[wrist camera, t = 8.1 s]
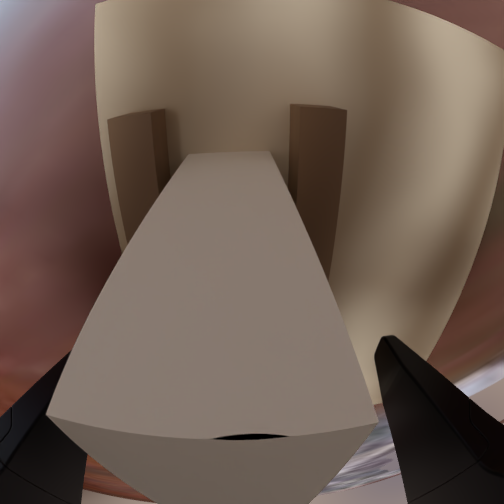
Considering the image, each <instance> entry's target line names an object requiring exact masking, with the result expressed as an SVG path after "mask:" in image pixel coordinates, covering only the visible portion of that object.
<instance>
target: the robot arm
mask: <svg viewBox="0 0 504 504" xmlns="http://www.w3.org/2000/svg"><path fill="white" fill-rule="evenodd" d="M71 351H72V350H71ZM71 351H70V352H69V353H68V354H67V355H65V356H64V357H63V358H62V359H61V360H60V361H59V362H58V363H57V364H56V365H55V366H53V367H52V368H51V369H50V370H49V371H48V372H47V373H46V374H45V375H44V376H43V377H42V378H41V379H39V380H38V381H37V382H36V383H35V384H34V385H33V386H32V387H31V388H30V389H29V390H28V391H27V392H26V393H25V394H24V395H23V396H22V397H21V398H20V399H19V400H18V401H17V402H15V403H14V404H13V405H12V407H10V408H9V409H8V410H7V411H6V412H5V413H4V414H3V415H2V416H1V417H0V504H81V498H82V490H83V482H84V474H85V467H86V460H87V453H86V452H85V451H84V450H83V449H81V448H80V447H79V446H78V445H77V444H76V443H75V442H74V441H72V440H71V439H70V438H69V437H68V436H67V435H66V434H65V433H64V432H63V431H62V430H61V429H60V428H59V427H58V426H57V425H56V424H55V423H54V422H53V421H52V420H51V419H50V418H49V417H48V416H47V415H46V412H47V410H48V407H49V404H50V402H51V399H52V396H53V394H54V391H55V389H56V386H57V384H58V381H59V379H60V377H61V374H62V372H63V369H64V367H65V365H66V363H67V360H68V358H69V356H70V353H71ZM374 361H375V366H376V371H377V376H378V382H379V387H380V393H381V398H382V402H383V406H384V409H385V413H386V416H387V420H388V423H389V427H390V431H391V434H392V438H393V442H394V446H395V450H396V454H397V458H398V462H399V466H400V470H401V475H402V479H403V483H404V488H405V493H406V497H407V502H408V504H504V425H503V424H502V423H500V422H499V421H497V420H496V419H495V418H493V417H492V416H490V415H489V414H488V413H486V412H485V411H484V410H483V409H482V408H481V407H479V406H478V405H477V404H476V403H475V402H473V401H472V400H471V399H469V397H468V396H466V395H465V394H464V393H463V392H462V391H461V390H459V389H458V388H457V387H456V386H455V385H454V384H452V383H451V382H450V381H449V380H448V379H447V378H445V377H444V376H443V375H442V374H441V373H439V372H438V371H437V370H436V369H435V368H434V367H432V366H431V365H430V364H429V363H428V362H426V361H425V360H424V359H423V358H422V357H420V356H419V355H418V354H417V353H416V352H414V351H413V350H412V349H411V348H410V347H408V346H407V345H406V344H405V343H403V342H402V341H401V340H400V339H399V338H397V337H396V336H395V335H387V336H382V337H381V339H380V341H379V343H378V346H377V348H376V351H375V354H374Z"/></svg>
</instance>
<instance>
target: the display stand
mask: <svg viewBox="0 0 504 504" xmlns="http://www.w3.org/2000/svg"><path fill="white" fill-rule="evenodd" d="M94 56H95V83H96V99H97V111H98V122H99V131H100V139H101V147H102V155H103V161H104V168H105V174H106V180H107V186H108V192H109V197H110V202H111V207H112V212H113V217H114V222H115V226H116V231H117V235H118V239H119V244H120V248H121V252H122V254H123V252H124V250H125V248H126V247H127V245H128V244H129V242H130V240H131V239H132V237H133V235H134V234H135V232H136V230H137V229H138V227H139V226H140V224H141V223H142V221H143V219H144V218H145V216H146V215H147V213H148V212H149V210H150V209H151V207H152V206H153V204H154V203H155V201H156V200H157V198H158V197H159V195H160V194H161V192H162V191H163V189H164V188H165V186H166V185H167V183H168V182H169V181H170V179H171V178H172V176H173V175H174V173H175V172H176V171H177V169H178V168H179V166H180V165H181V164H182V162H183V161H184V160H185V158H186V157H187V156H188V154H197V153H215V152H241V151H270V153H271V155H272V157H273V159H274V161H275V163H276V165H277V167H278V169H279V171H280V174H281V176H282V178H283V180H284V182H285V184H286V186H287V188H288V191H289V193H290V195H291V197H292V199H293V202H294V204H295V206H296V208H297V210H298V213H299V215H300V217H301V219H302V222H303V224H304V226H305V228H306V231H307V233H308V235H309V238H310V240H311V242H312V245H313V247H314V249H315V252H316V254H317V256H318V259H319V261H320V263H321V266H322V268H323V271H324V273H325V276H326V278H327V280H328V283H329V285H330V288H331V290H332V293H333V295H334V298H335V300H336V303H337V306H338V308H339V311H340V313H341V316H342V318H343V321H344V324H345V326H346V329H347V332H348V334H349V337H350V340H351V342H352V345H353V348H354V351H355V353H356V356H357V359H358V362H359V365H360V367H361V370H362V373H363V376H364V379H365V382H366V385H367V388H368V391H369V394H370V397H371V400H372V403H373V405H374V404H379V403H383V402H382V398H381V393H380V387H379V382H378V376H377V371H376V366H375V361H374V354H375V351H376V348H377V346H378V343H379V341H380V339H381V337H382V336H387V335H395V336H396V337H397V338H399V339H400V340H401V341H402V342H403V343H405V344H406V345H407V346H408V347H410V348H411V349H412V350H413V351H414V352H416V353H417V354H418V355H419V356H420V357H422V358H423V359H424V360H425V361H427V359H428V357H429V355H430V354H431V352H432V350H433V348H434V347H435V345H436V343H437V341H438V339H439V337H440V335H441V334H442V332H443V330H444V328H445V326H446V324H447V322H448V320H449V318H450V316H451V314H452V311H453V309H454V307H455V305H456V303H457V301H458V298H459V296H460V294H461V292H462V289H463V287H464V285H465V282H466V280H467V277H468V275H469V272H470V270H471V267H472V264H473V262H474V259H475V256H476V254H477V251H478V248H479V245H480V242H481V239H482V236H483V233H484V229H485V226H486V223H487V219H488V216H489V212H490V209H491V205H492V201H493V197H494V193H495V189H496V184H497V180H498V175H499V170H500V165H501V159H502V153H503V147H504V50H503V49H501V48H499V47H498V46H496V45H494V44H492V43H491V42H489V41H487V40H485V39H483V38H481V37H479V36H477V35H476V34H474V33H472V32H470V31H467V30H465V29H463V28H461V27H459V26H457V25H455V24H452V23H450V22H448V21H446V20H443V19H441V18H438V17H436V16H433V15H431V14H428V13H425V12H423V11H420V10H417V9H414V8H411V7H408V6H405V5H402V4H399V3H396V2H392V1H389V0H108V1H105V2H101V3H98V4H96V5H95V31H94Z"/></svg>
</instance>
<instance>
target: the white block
mask: <svg viewBox="0 0 504 504" xmlns="http://www.w3.org/2000/svg"><path fill="white" fill-rule="evenodd" d="M46 415H47V416H48V417H49V418H50V419H51V420H52V421H53V422H54V423H55V424H56V425H57V426H58V427H59V428H60V429H61V430H62V431H63V432H64V433H65V434H66V435H67V436H68V437H69V438H70V439H71V440H72V441H74V442H75V443H76V444H77V445H78V446H79V447H80V448H81V449H83V450H84V451H85V452H86V453H87V454H88V455H90V456H91V457H92V458H93V459H95V460H96V461H97V462H98V463H100V464H101V465H102V466H103V467H105V468H106V469H107V470H109V471H110V472H111V473H113V474H114V475H115V476H117V477H118V478H119V479H121V480H122V481H124V482H125V483H126V484H128V485H129V486H131V487H132V488H134V489H135V490H137V491H138V492H140V493H141V494H143V495H145V496H146V497H148V498H149V499H151V500H153V501H154V502H156V503H158V504H309V503H310V502H311V501H312V500H313V499H314V498H315V497H316V496H317V495H318V494H319V493H320V492H321V491H322V490H323V489H324V488H325V487H326V486H327V484H328V483H329V482H330V481H331V480H332V479H333V478H334V477H335V476H336V475H337V474H338V472H339V471H340V470H341V469H342V468H343V467H344V466H345V464H346V463H347V462H348V461H349V460H350V458H351V457H352V456H353V455H354V454H355V452H356V451H357V450H358V449H359V447H360V446H361V445H362V444H363V442H364V441H365V440H366V439H367V437H368V436H369V435H370V433H371V432H372V431H373V429H374V428H375V427H376V425H377V424H378V418H377V415H376V412H375V409H374V406H373V403H372V400H371V397H370V394H369V391H368V388H367V385H366V382H365V379H364V376H363V373H362V370H361V367H360V365H359V362H358V359H357V356H356V353H355V351H354V348H353V345H352V342H351V340H350V337H349V334H348V332H347V329H346V326H345V324H344V321H343V318H342V316H341V313H340V311H339V308H338V306H337V303H336V300H335V298H334V295H333V293H332V290H331V288H330V285H329V283H328V280H327V278H326V276H325V273H324V271H323V268H322V266H321V263H320V261H319V259H318V256H317V254H316V252H315V249H314V247H313V245H312V242H311V240H310V238H309V235H308V233H307V231H306V228H305V226H304V224H303V222H302V219H301V217H300V215H299V213H298V210H297V208H296V206H295V204H294V202H293V199H292V197H291V195H290V193H289V191H288V188H287V186H286V184H285V182H284V180H283V178H282V176H281V174H280V171H279V169H278V167H277V165H276V163H275V161H274V159H273V157H272V155H271V153H270V151H241V152H215V153H197V154H188V156H187V157H186V158H185V160H184V161H183V162H182V164H181V165H180V166H179V168H178V169H177V171H176V172H175V173H174V175H173V176H172V178H171V179H170V181H169V182H168V183H167V185H166V186H165V188H164V189H163V191H162V192H161V194H160V195H159V197H158V198H157V200H156V201H155V203H154V204H153V206H152V207H151V209H150V210H149V212H148V213H147V215H146V216H145V218H144V219H143V221H142V223H141V224H140V226H139V227H138V229H137V230H136V232H135V234H134V235H133V237H132V239H131V240H130V242H129V244H128V245H127V247H126V248H125V250H124V252H123V254H122V255H121V257H120V259H119V260H118V262H117V264H116V266H115V267H114V269H113V271H112V273H111V274H110V276H109V278H108V280H107V282H106V283H105V285H104V287H103V289H102V291H101V293H100V295H99V296H98V298H97V300H96V302H95V304H94V306H93V308H92V310H91V312H90V314H89V316H88V318H87V320H86V322H85V324H84V326H83V328H82V330H81V332H80V334H79V336H78V338H77V340H76V343H75V345H74V347H73V349H72V351H71V353H70V356H69V358H68V360H67V363H66V365H65V367H64V369H63V372H62V374H61V377H60V379H59V381H58V384H57V386H56V389H55V391H54V394H53V396H52V399H51V402H50V404H49V407H48V410H47V412H46Z"/></svg>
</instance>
